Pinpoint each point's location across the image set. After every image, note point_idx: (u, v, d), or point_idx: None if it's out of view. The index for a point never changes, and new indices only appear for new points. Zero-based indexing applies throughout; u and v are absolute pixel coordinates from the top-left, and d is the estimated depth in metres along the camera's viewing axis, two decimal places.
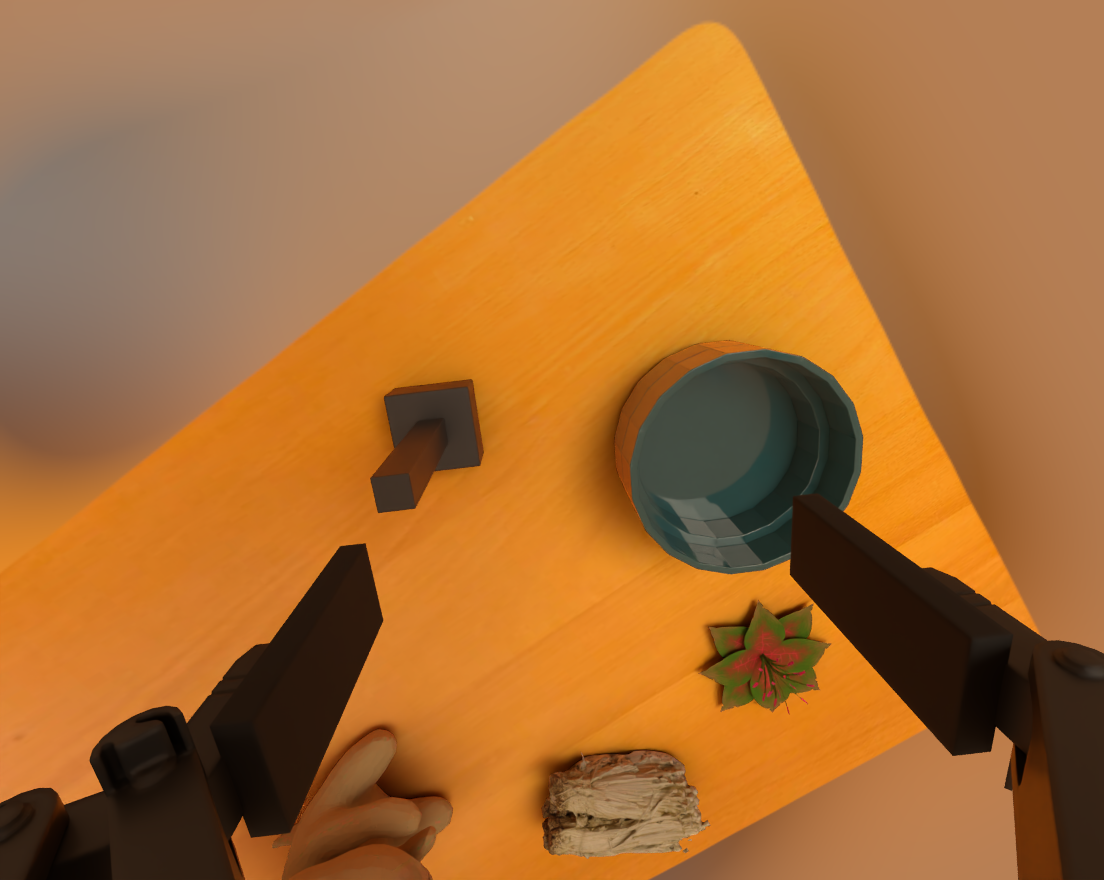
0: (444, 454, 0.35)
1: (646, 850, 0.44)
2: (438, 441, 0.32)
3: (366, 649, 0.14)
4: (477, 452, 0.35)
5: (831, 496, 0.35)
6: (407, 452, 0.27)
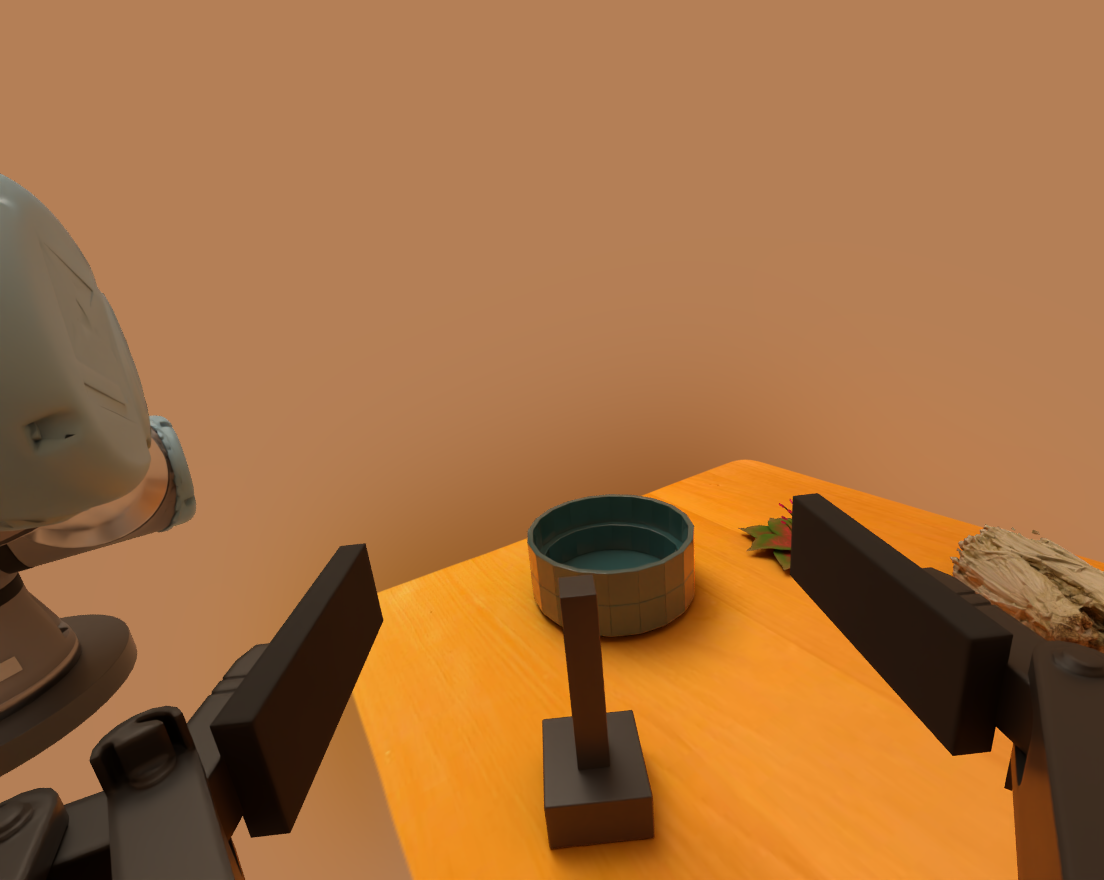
0: (620, 743, 0.29)
1: (1066, 552, 0.40)
2: None
3: (366, 649, 0.14)
4: (616, 712, 0.32)
5: (631, 506, 0.53)
6: None
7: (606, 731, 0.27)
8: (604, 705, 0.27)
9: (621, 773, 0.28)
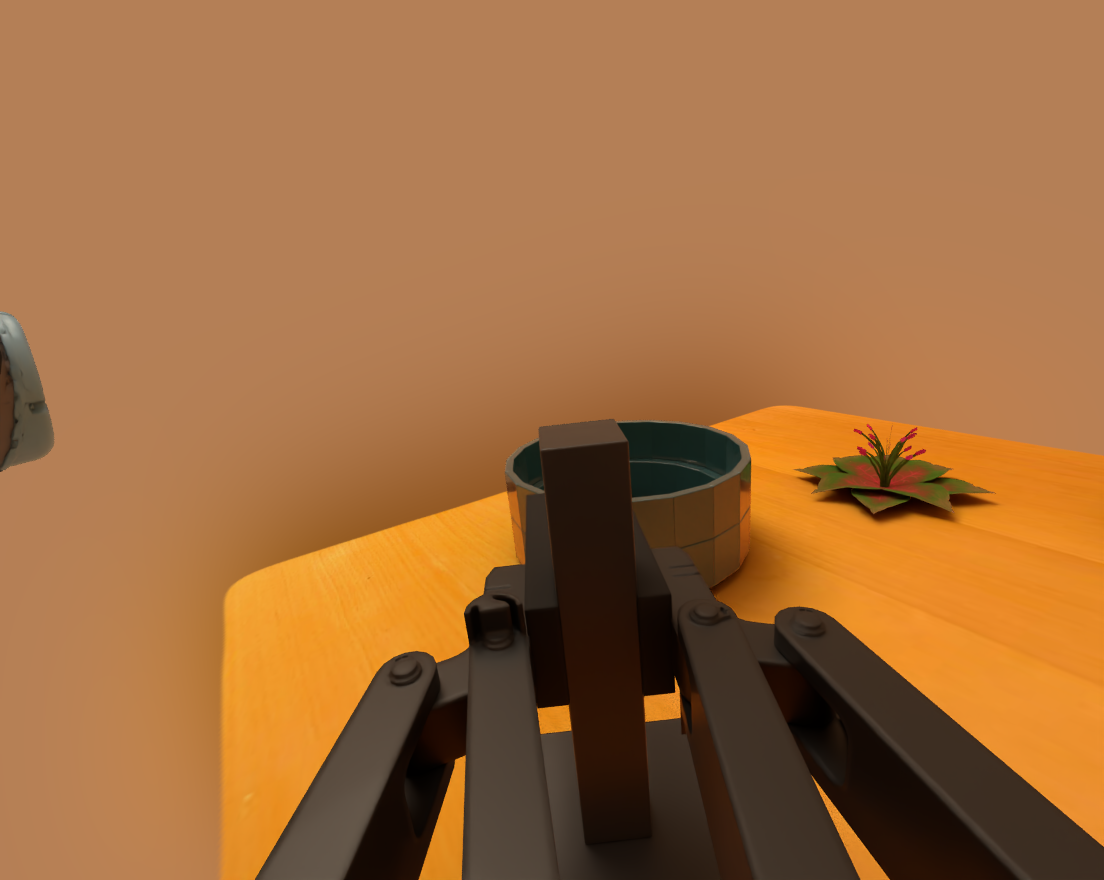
0: (667, 785, 0.15)
1: None
2: None
3: None
4: (654, 722, 0.17)
5: (651, 436, 0.39)
6: None
7: (645, 765, 0.13)
8: (642, 709, 0.12)
9: (677, 854, 0.13)
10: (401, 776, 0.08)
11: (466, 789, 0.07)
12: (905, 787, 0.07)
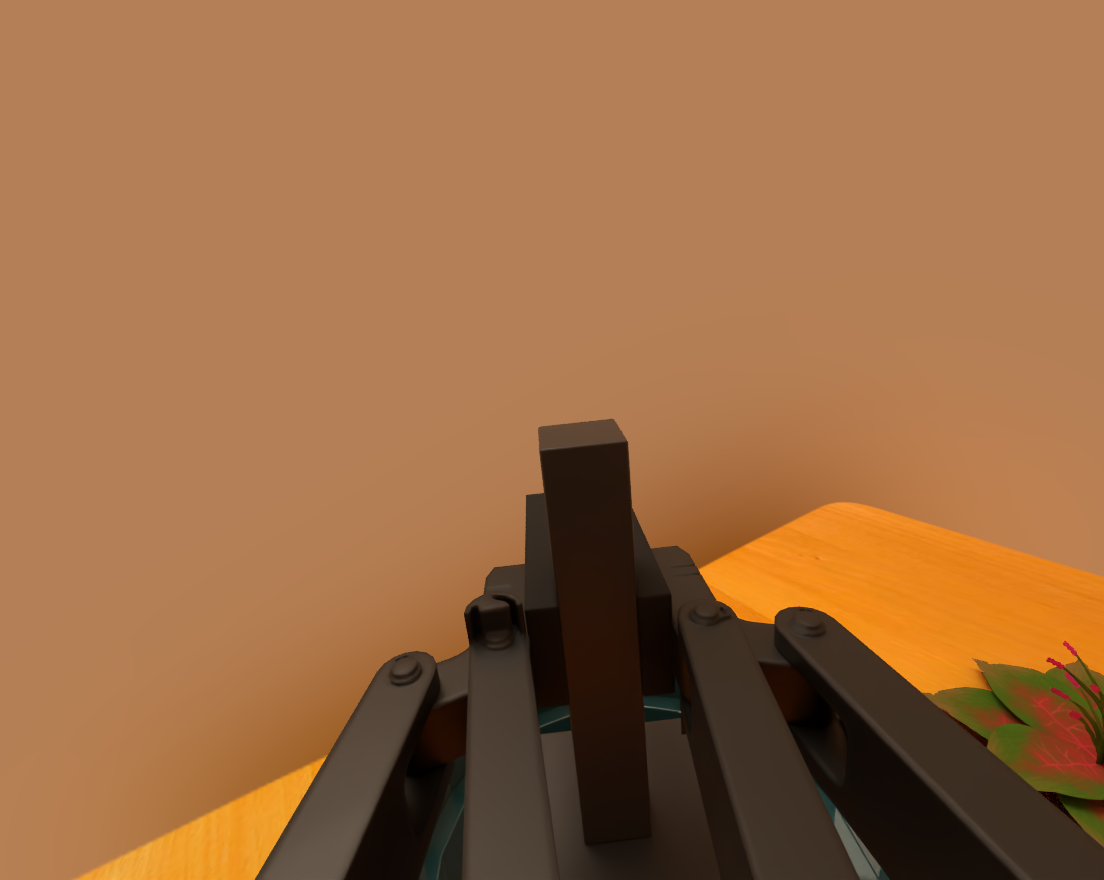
0: (667, 785, 0.15)
1: None
2: None
3: None
4: (654, 722, 0.17)
5: None
6: None
7: (645, 765, 0.13)
8: (641, 709, 0.12)
9: (676, 854, 0.13)
10: (401, 776, 0.08)
11: (466, 789, 0.07)
12: (905, 787, 0.07)
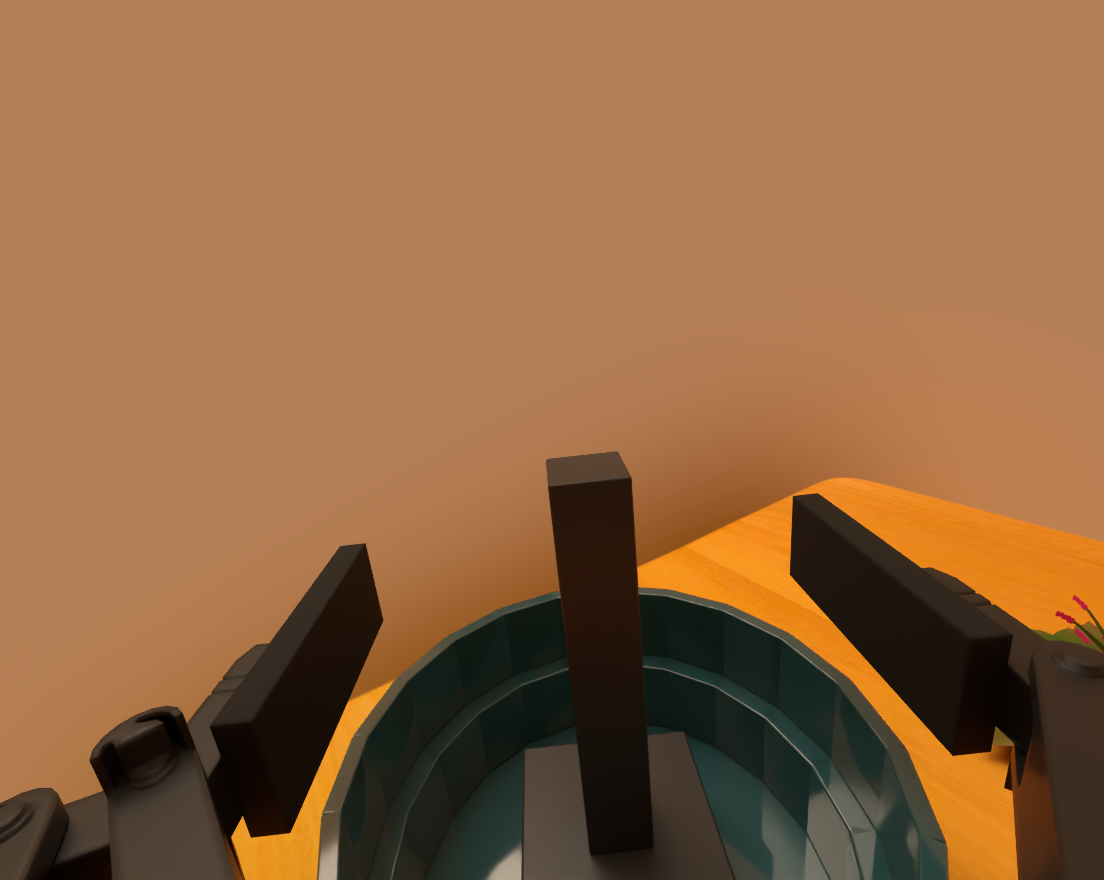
0: (669, 797, 0.15)
1: None
2: None
3: (366, 649, 0.14)
4: (656, 735, 0.18)
5: (667, 620, 0.21)
6: None
7: (647, 779, 0.13)
8: (644, 727, 0.13)
9: (678, 864, 0.14)
10: None
11: None
12: None
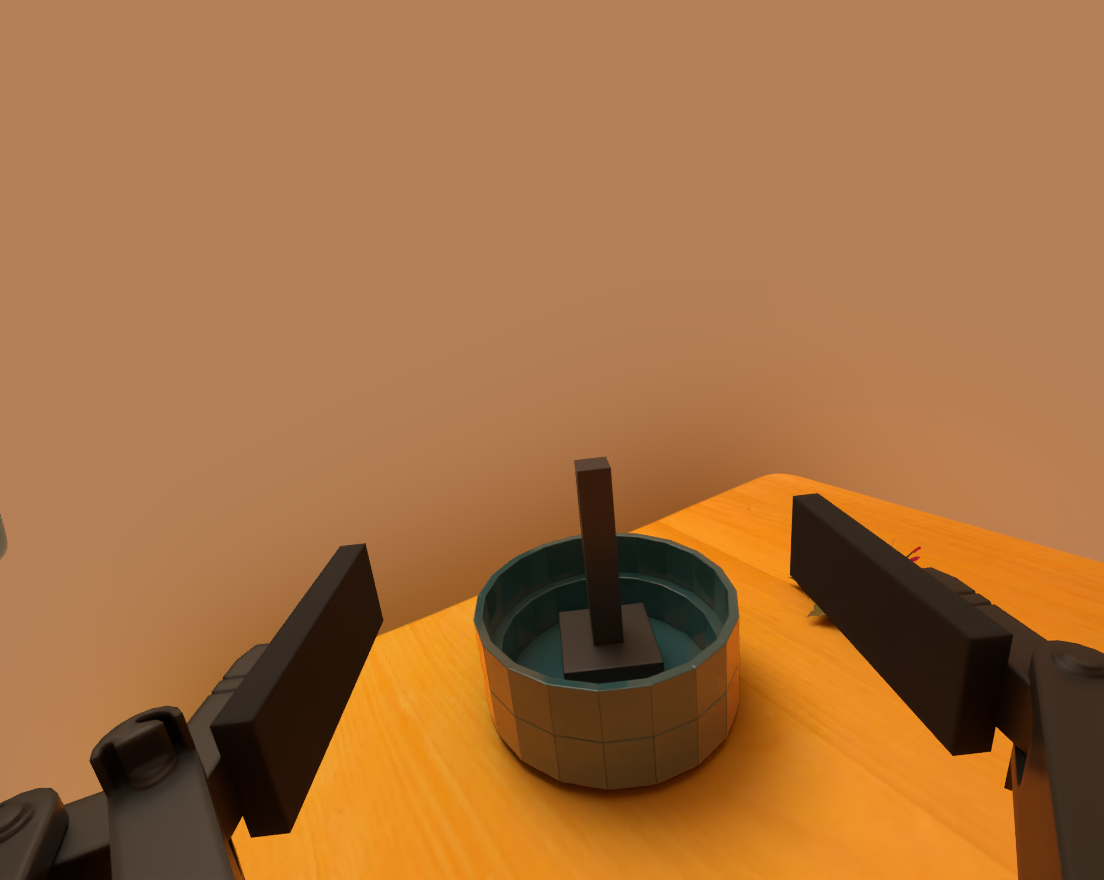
0: (632, 626, 0.31)
1: None
2: None
3: (366, 649, 0.14)
4: (628, 605, 0.34)
5: (636, 551, 0.36)
6: None
7: (620, 606, 0.29)
8: (618, 580, 0.29)
9: (634, 647, 0.30)
10: None
11: None
12: None
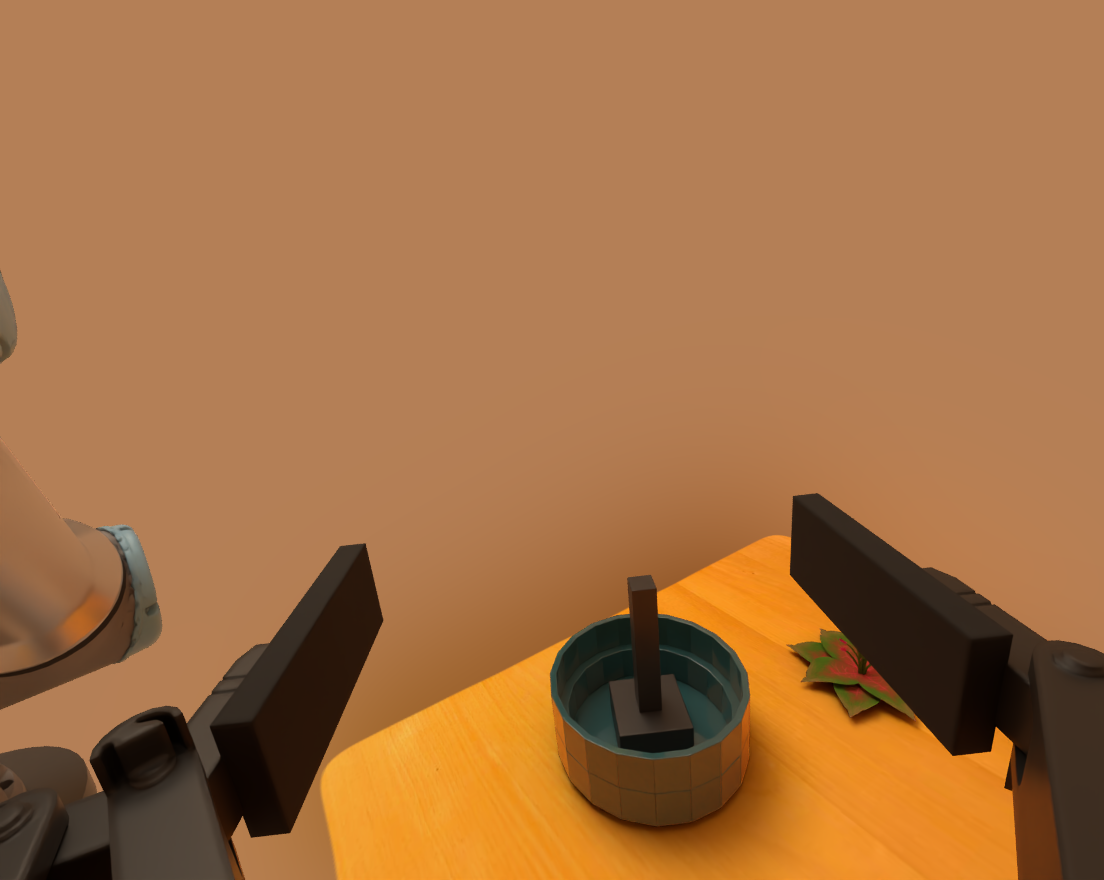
0: (667, 695, 0.41)
1: None
2: None
3: (366, 649, 0.14)
4: (662, 675, 0.43)
5: (666, 628, 0.46)
6: (631, 624, 0.39)
7: (660, 684, 0.39)
8: (659, 665, 0.39)
9: (670, 714, 0.39)
10: None
11: None
12: None
